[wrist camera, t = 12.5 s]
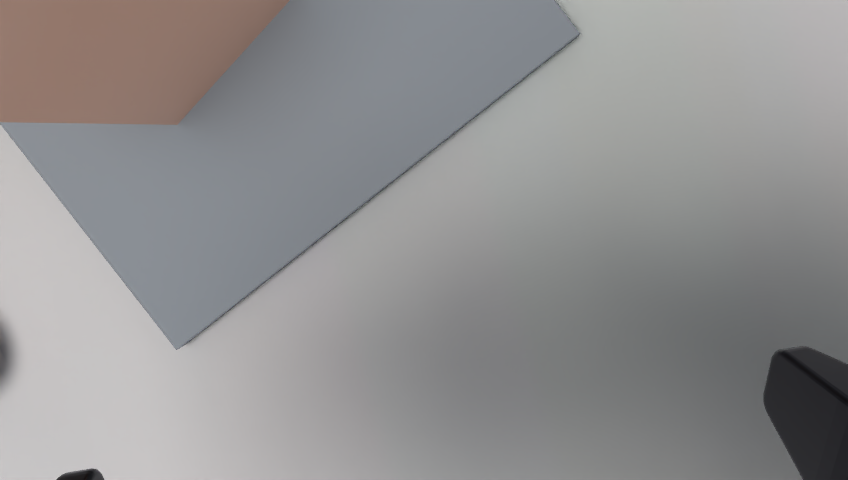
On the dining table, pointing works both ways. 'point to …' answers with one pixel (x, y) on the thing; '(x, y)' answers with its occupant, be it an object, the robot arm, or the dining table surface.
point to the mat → (284, 142)
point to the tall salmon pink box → (119, 56)
